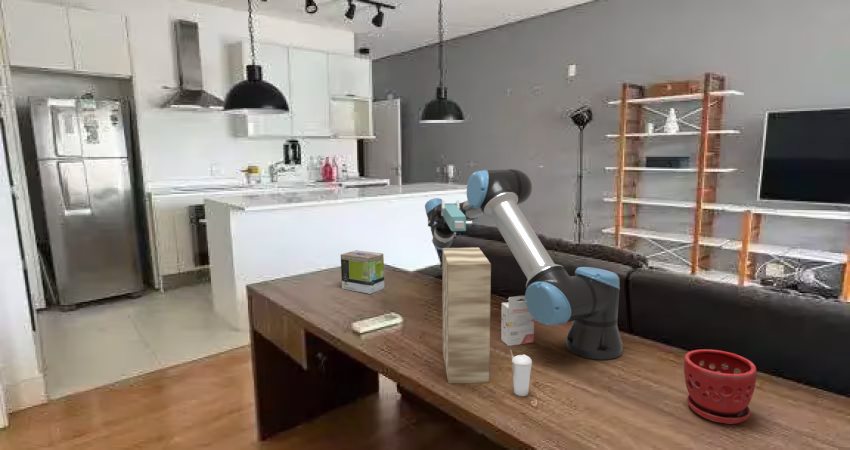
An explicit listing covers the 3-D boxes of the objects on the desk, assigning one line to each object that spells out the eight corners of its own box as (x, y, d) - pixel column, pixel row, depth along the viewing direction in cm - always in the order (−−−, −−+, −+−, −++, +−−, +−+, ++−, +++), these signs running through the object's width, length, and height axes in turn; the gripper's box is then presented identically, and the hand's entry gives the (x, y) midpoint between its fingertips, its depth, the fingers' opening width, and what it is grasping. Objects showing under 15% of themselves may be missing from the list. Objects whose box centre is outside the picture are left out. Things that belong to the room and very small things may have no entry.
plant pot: (724, 395, 109) (729, 346, 107) (766, 428, 96) (773, 374, 94) (668, 396, 109) (672, 347, 107) (703, 430, 96) (709, 375, 94)
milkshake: (514, 385, 115) (515, 346, 113) (534, 392, 112) (535, 352, 110) (504, 392, 111) (505, 352, 110) (525, 400, 108) (526, 359, 106)
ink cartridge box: (526, 336, 144) (527, 290, 141) (534, 342, 139) (535, 294, 137) (500, 339, 142) (501, 292, 139) (507, 346, 137) (508, 297, 134)
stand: (442, 351, 134) (442, 248, 128) (477, 350, 134) (478, 247, 129) (448, 383, 116) (448, 264, 111) (489, 382, 116) (490, 263, 111)
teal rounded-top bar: (442, 215, 160) (442, 203, 159) (454, 214, 160) (454, 203, 159) (452, 232, 128) (452, 218, 127) (467, 232, 128) (467, 217, 127)
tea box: (385, 288, 193) (384, 253, 191) (369, 295, 185) (368, 258, 183) (357, 283, 201) (355, 249, 199) (341, 289, 193) (339, 253, 190)
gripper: (469, 238, 172) (478, 215, 150) (422, 239, 171) (424, 215, 149) (467, 219, 174) (476, 193, 152) (421, 219, 173) (423, 194, 151)
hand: (450, 204), depth 151 cm, fingers closed on teal rounded-top bar, 4 cm apart
